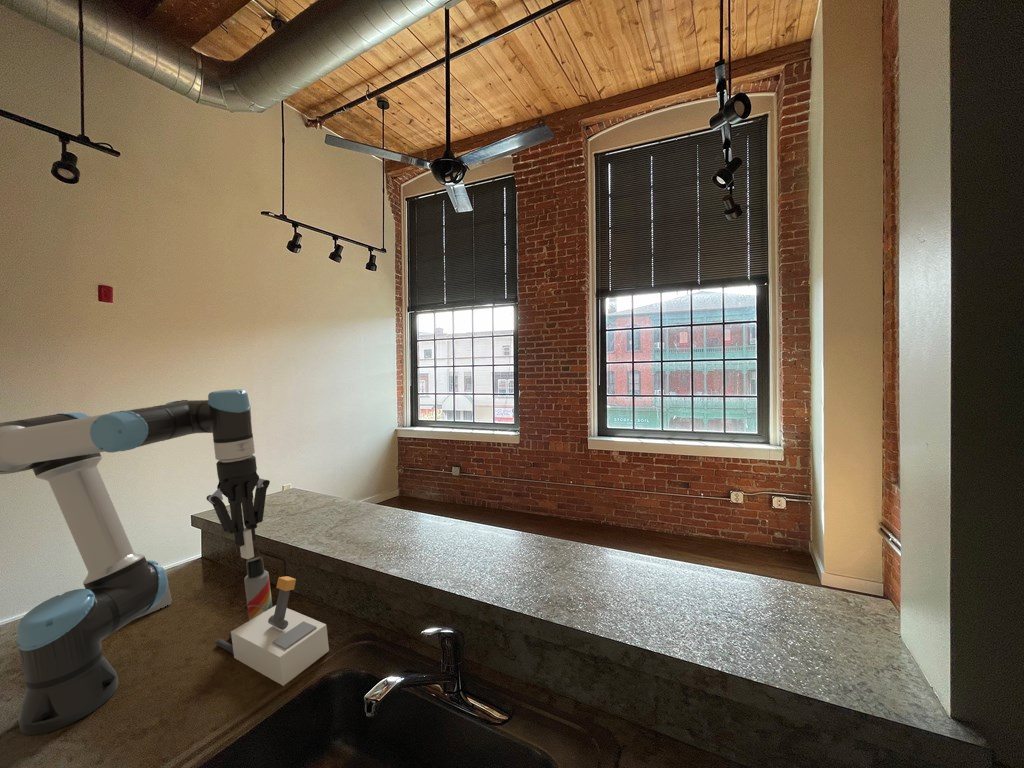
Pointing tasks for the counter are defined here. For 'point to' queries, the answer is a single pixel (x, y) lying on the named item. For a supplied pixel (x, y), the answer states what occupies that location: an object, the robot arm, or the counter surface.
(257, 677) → the counter surface
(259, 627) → the block
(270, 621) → the lever
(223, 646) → the parallel rod pair
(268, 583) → the lotion bottle
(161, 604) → the electrical switch
